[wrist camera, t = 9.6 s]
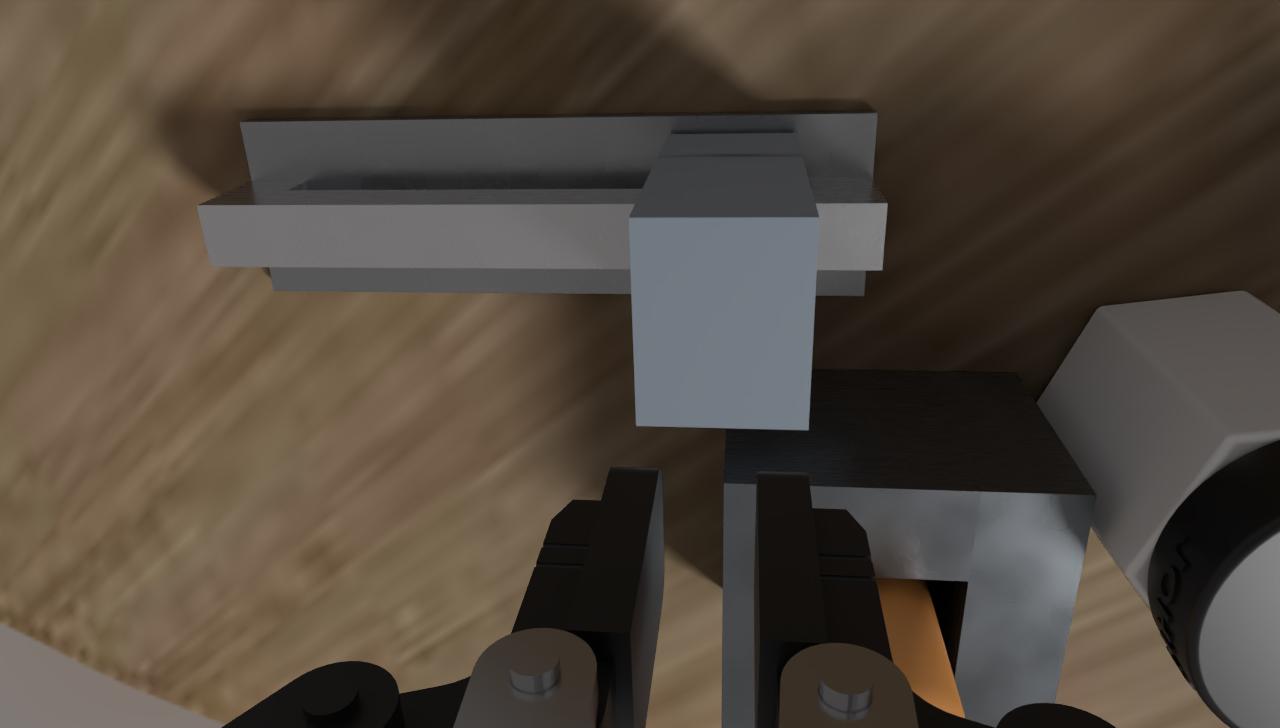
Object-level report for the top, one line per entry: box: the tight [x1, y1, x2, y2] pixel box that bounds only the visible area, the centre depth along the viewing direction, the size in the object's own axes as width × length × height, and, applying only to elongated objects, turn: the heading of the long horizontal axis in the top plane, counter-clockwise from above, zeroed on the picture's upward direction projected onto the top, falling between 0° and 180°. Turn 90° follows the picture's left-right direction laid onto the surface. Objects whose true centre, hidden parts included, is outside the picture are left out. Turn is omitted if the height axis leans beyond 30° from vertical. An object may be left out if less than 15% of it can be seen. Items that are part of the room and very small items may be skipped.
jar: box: [1037, 291, 1280, 728], centre depth 26 cm, size 9×8×12 cm
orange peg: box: [875, 577, 965, 718], centre depth 27 cm, size 3×3×8 cm
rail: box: [197, 110, 888, 296], centre depth 29 cm, size 6×21×4 cm, turn 92°
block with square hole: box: [722, 369, 1097, 728], centre depth 30 cm, size 10×10×8 cm
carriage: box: [629, 133, 819, 430], centre depth 25 cm, size 5×4×10 cm
